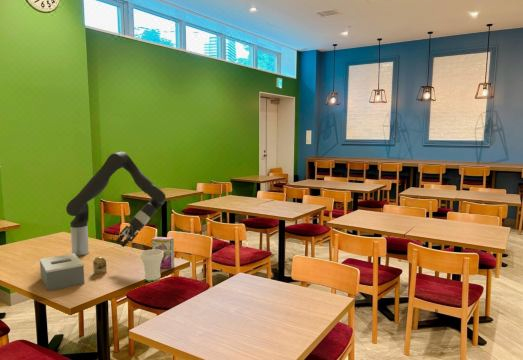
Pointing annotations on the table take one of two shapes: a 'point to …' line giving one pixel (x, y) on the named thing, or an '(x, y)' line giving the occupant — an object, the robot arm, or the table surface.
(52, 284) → the coin box
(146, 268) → the cup
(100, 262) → the token
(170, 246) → the candy bar box
